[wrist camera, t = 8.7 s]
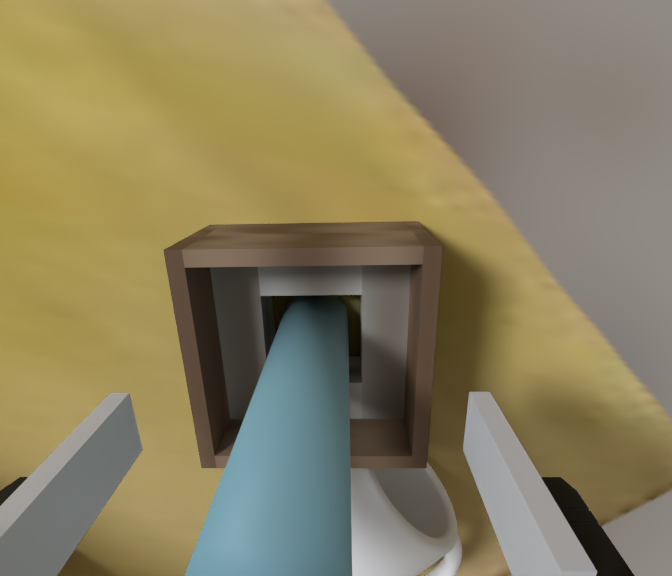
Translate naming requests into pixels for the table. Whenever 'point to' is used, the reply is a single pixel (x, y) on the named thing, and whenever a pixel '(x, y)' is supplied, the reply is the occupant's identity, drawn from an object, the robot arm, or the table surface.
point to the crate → (310, 279)
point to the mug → (402, 523)
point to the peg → (289, 459)
